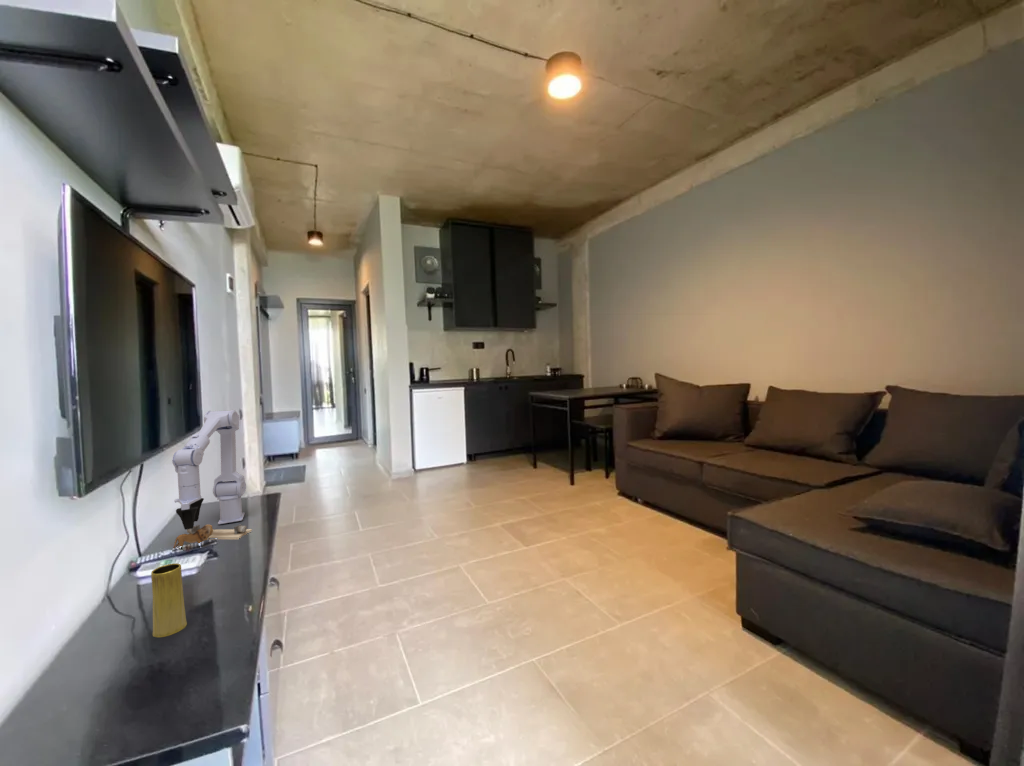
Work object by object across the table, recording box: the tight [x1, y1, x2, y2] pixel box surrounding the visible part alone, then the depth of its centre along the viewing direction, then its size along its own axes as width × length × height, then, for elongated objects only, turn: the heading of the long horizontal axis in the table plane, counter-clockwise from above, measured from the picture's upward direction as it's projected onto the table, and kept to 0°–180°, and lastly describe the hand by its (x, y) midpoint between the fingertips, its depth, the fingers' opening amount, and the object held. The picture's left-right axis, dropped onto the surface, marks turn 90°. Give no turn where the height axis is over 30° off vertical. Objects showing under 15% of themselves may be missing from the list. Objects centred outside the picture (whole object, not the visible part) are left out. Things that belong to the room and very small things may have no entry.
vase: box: [150, 562, 188, 638], centre depth 95 cm, size 6×6×14 cm
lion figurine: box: [172, 524, 214, 549], centre depth 140 cm, size 12×4×7 cm, turn 121°
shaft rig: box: [186, 523, 253, 540], centre depth 150 cm, size 7×21×4 cm, turn 88°
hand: (191, 525), depth 140 cm, fingers open, 7 cm apart
